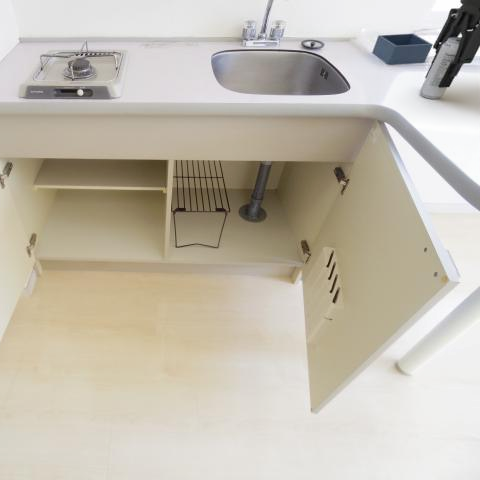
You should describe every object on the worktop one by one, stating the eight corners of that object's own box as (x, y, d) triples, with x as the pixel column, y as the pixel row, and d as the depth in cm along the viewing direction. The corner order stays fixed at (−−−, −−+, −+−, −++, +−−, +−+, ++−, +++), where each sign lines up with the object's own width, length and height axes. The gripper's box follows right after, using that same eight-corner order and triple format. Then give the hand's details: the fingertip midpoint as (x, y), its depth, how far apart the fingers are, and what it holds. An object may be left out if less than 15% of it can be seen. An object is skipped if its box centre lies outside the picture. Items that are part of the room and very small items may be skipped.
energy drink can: (439, 92, 104) (468, 36, 94) (443, 100, 100) (475, 43, 90) (416, 90, 106) (443, 35, 95) (420, 98, 102) (448, 42, 91)
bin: (424, 62, 121) (433, 44, 117) (388, 64, 121) (395, 46, 117) (406, 50, 130) (413, 33, 125) (372, 52, 130) (378, 35, 126)
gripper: (447, -22, 91) (406, 70, 107) (498, -6, 77) (442, 96, 94) (476, -23, 90) (431, 69, 107) (532, -8, 77) (470, 95, 94)
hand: (436, 82), depth 100 cm, fingers closed on energy drink can, 6 cm apart
